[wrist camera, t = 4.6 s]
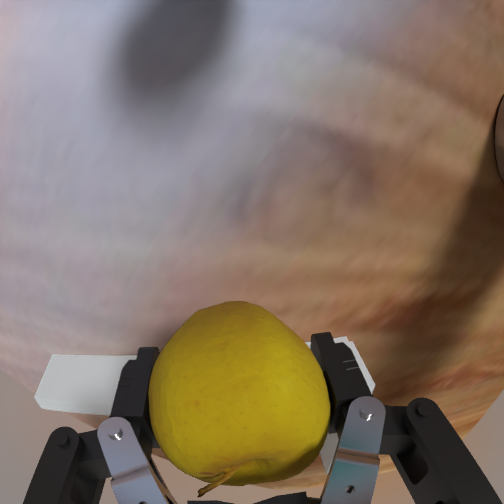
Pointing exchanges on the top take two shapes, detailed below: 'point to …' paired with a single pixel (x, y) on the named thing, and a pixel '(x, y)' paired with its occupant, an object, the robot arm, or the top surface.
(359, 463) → the robot arm
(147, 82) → the top surface
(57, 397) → the grey corner wall
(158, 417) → the apple
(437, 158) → the top surface
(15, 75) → the top surface
